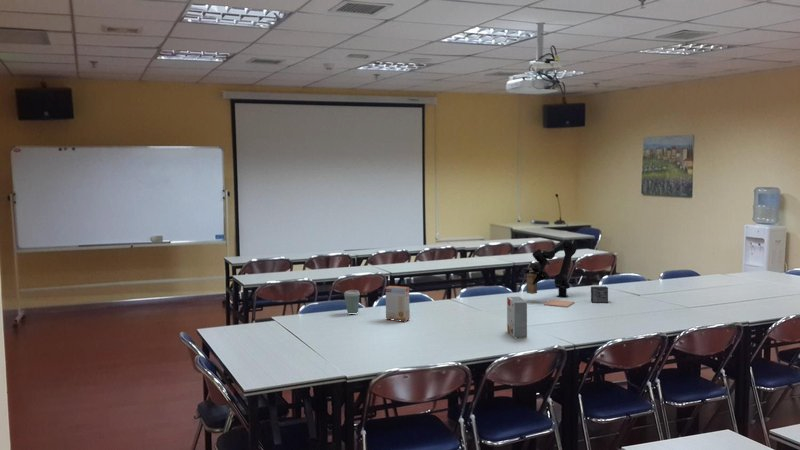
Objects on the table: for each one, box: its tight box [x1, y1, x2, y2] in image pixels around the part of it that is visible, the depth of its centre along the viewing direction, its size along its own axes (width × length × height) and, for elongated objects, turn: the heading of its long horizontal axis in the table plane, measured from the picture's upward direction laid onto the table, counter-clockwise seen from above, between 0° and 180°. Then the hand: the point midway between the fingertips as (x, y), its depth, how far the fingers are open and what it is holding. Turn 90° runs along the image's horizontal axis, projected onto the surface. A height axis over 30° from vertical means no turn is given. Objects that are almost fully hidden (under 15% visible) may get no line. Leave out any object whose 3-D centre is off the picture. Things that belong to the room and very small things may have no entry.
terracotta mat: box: [543, 299, 575, 308], centre depth 439 cm, size 16×16×1 cm
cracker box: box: [385, 285, 411, 322], centre depth 400 cm, size 14×6×21 cm, turn 59°
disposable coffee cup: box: [343, 289, 361, 314], centre depth 419 cm, size 11×11×15 cm
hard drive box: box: [506, 296, 528, 338], centre depth 361 cm, size 16×8×20 cm, turn 5°
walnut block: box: [526, 273, 538, 295], centre depth 444 cm, size 5×5×13 cm
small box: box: [590, 285, 609, 304], centre depth 443 cm, size 11×6×10 cm, turn 84°
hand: (530, 283), depth 443 cm, fingers closed on walnut block, 5 cm apart
